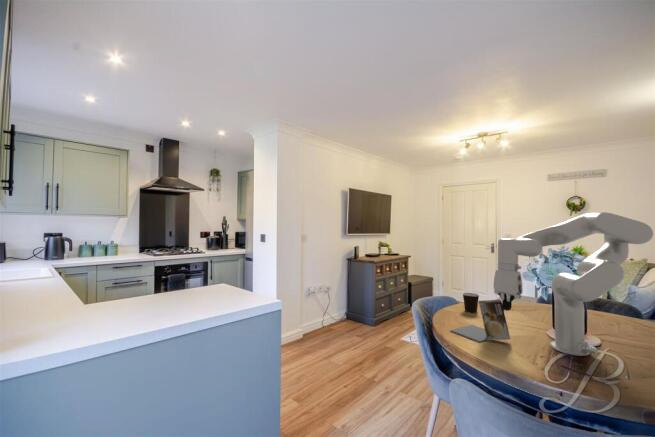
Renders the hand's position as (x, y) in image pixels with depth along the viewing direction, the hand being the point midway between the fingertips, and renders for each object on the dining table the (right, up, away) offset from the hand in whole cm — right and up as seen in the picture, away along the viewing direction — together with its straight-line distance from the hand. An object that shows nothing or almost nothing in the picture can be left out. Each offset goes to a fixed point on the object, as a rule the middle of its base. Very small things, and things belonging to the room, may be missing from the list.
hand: (506, 309), depth 127 cm
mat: (-7, -16, +13) cm, 22 cm away
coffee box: (-2, -14, +4) cm, 15 cm away
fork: (+13, -16, -25) cm, 32 cm away
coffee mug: (+7, -16, +47) cm, 50 cm away
